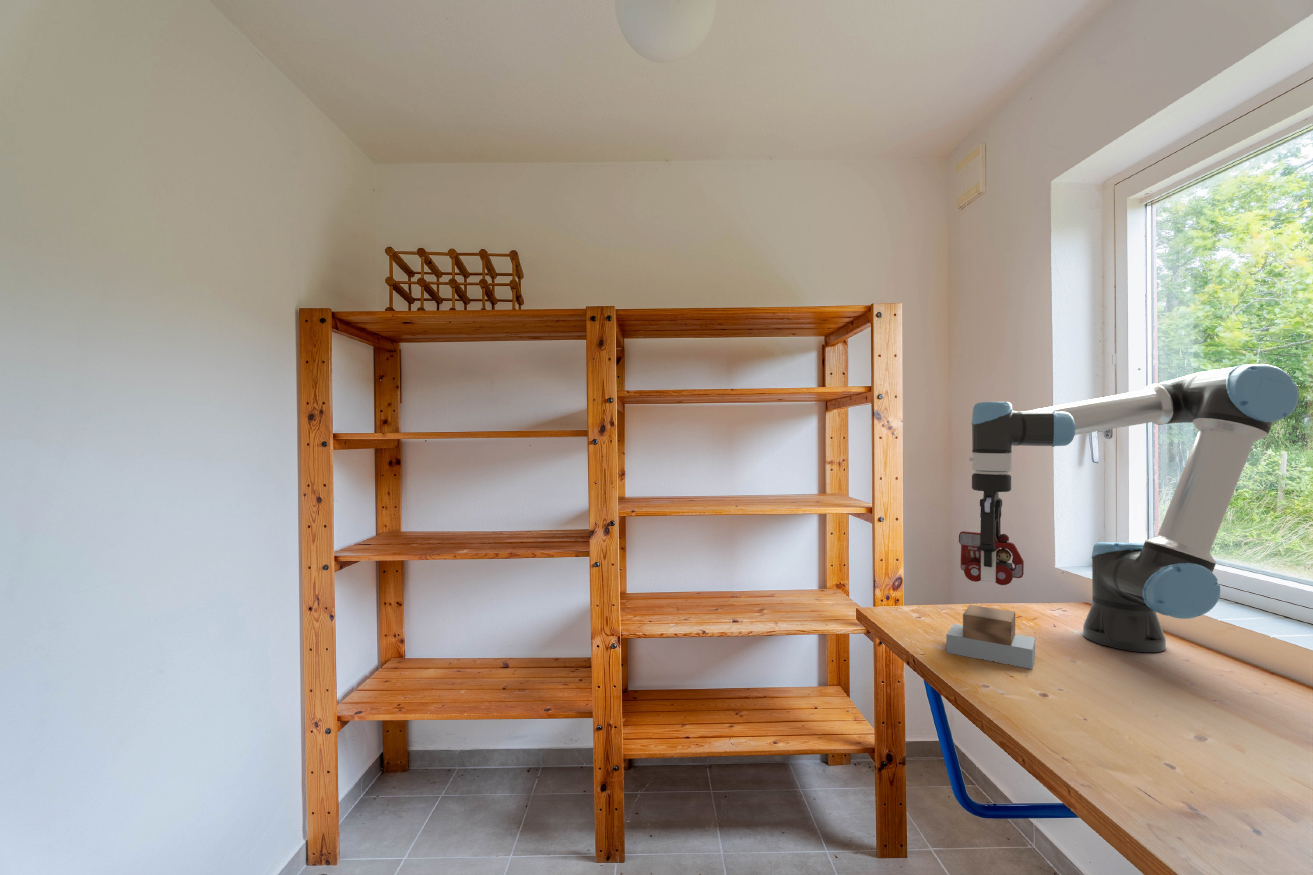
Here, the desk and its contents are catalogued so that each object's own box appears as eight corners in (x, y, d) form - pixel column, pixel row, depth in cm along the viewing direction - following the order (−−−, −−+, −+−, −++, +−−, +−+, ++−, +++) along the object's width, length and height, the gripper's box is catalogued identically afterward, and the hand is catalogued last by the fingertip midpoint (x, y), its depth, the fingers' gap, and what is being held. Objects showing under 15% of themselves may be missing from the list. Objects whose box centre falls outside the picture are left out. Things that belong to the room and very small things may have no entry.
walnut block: (1015, 634, 130) (1015, 611, 130) (1011, 645, 123) (1011, 621, 123) (969, 626, 136) (969, 604, 136) (962, 637, 128) (963, 614, 128)
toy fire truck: (1022, 588, 123) (1022, 537, 123) (956, 579, 130) (956, 532, 130) (1024, 581, 129) (1024, 533, 129) (960, 573, 136) (960, 528, 136)
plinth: (1035, 656, 128) (1035, 637, 128) (1032, 669, 121) (1032, 649, 121) (953, 641, 138) (953, 623, 138) (946, 652, 130) (946, 634, 130)
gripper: (978, 470, 139) (977, 567, 139) (964, 474, 123) (963, 584, 123) (1015, 471, 135) (1014, 572, 135) (1006, 475, 119) (1005, 590, 119)
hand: (990, 578), depth 129 cm, fingers closed on toy fire truck, 7 cm apart
